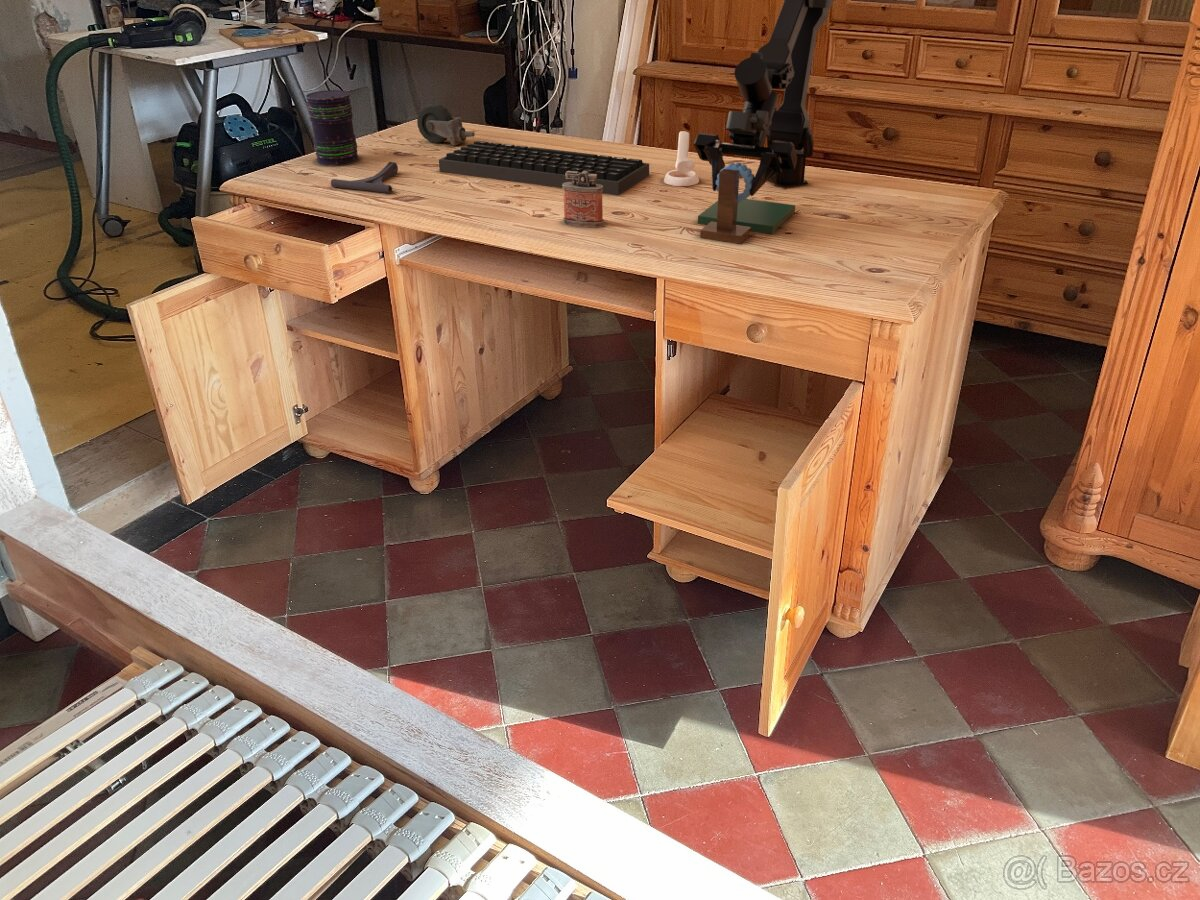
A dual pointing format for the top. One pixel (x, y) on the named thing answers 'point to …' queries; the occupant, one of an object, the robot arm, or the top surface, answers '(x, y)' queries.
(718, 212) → the peg stand
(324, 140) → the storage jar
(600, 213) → the lighter
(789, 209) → the cutting board
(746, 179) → the blue fluted ring
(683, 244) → the top surface
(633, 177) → the computer keyboard
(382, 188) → the dark grey branched pipe
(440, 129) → the caster wheel
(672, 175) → the white piece
